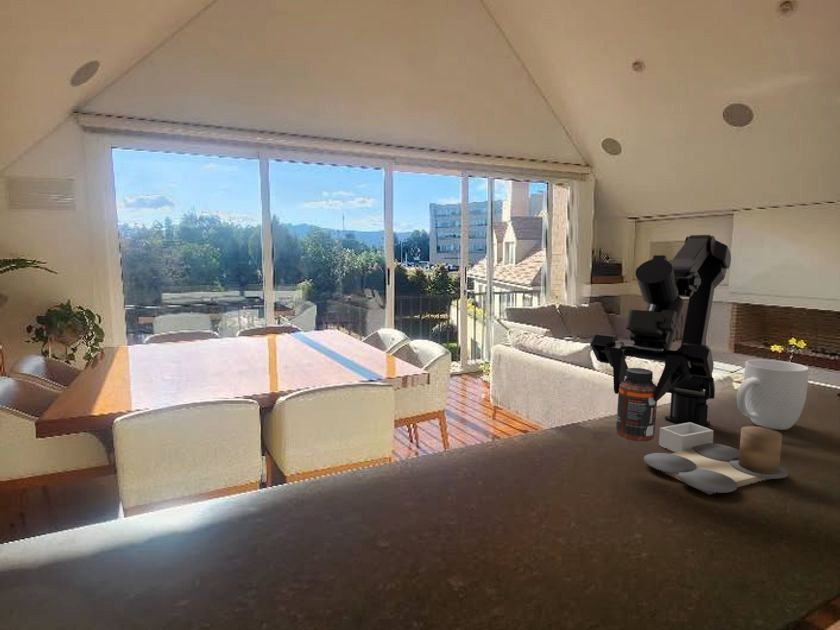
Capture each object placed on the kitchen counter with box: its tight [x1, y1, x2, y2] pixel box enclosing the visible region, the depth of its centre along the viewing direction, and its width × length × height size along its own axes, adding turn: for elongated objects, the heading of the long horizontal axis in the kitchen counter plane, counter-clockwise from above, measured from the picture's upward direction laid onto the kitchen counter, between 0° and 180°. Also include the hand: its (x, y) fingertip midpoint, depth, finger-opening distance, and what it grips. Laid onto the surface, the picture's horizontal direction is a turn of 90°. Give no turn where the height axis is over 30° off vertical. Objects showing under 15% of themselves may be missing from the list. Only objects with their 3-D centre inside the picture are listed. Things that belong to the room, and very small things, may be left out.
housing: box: [658, 422, 715, 453], centre depth 95 cm, size 5×8×4 cm, turn 113°
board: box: [643, 425, 789, 495], centre depth 84 cm, size 15×20×7 cm
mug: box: [736, 359, 810, 431], centre depth 106 cm, size 15×11×13 cm
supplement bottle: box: [615, 367, 658, 442], centre depth 83 cm, size 6×6×11 cm
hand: (634, 396), depth 82 cm, fingers closed on supplement bottle, 6 cm apart
